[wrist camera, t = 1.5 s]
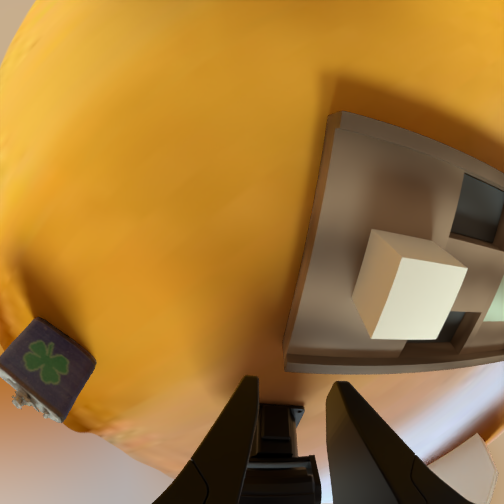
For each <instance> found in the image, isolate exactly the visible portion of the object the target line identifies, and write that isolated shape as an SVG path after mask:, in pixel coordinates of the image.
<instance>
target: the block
mask: <svg viewBox="0 0 504 504" xmlns="http://www.w3.org/2000/svg"><path fill="white" fill-rule="evenodd" d="M467 269H468V268H467V267H466V266H464V265H463V264H462V263H461V262H459V261H458V260H457V259H455V258H454V257H453V256H452V255H450V254H449V253H448V252H446V251H445V250H444V249H442V248H441V247H440V246H438V245H437V244H436V243H434V242H433V241H431V240H426V239H421V238H416V237H411V236H406V235H402V234H396V233H391V232H386V231H381V230H376V229H371V233H370V237H369V241H368V244H367V248H366V252H365V255H364V259H363V262H362V265H361V269H360V272H359V275H358V279H357V282H356V285H355V288H354V291H353V294H352V297H351V298H352V300H353V302H354V304H355V306H356V308H357V310H358V312H359V314H360V317H361V319H362V321H363V323H364V325H365V327H366V329H367V331H368V333H369V336H370V338H371V339H398V340H433V339H436V338H437V336H438V335H439V333H440V331H441V329H442V327H443V325H444V323H445V321H446V319H447V317H448V314H449V312H450V310H451V308H452V306H453V304H454V301H455V299H456V297H457V294H458V292H459V290H460V287H461V285H462V282H463V280H464V277H465V275H466V272H467Z"/></svg>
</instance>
